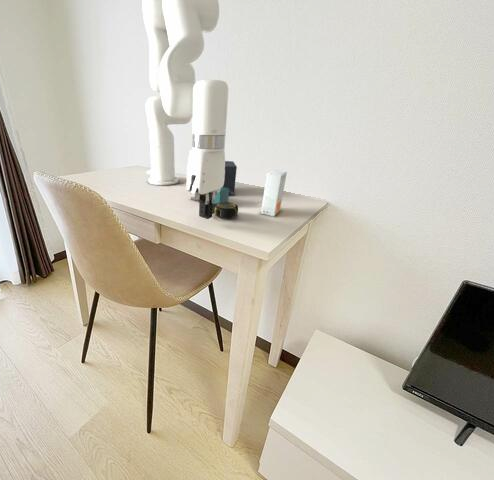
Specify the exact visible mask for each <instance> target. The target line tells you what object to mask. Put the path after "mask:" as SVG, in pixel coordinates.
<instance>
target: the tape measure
mask: <svg viewBox="0 0 494 480" xmlns="http://www.w3.org/2000/svg"><path fill="white" fill-rule="evenodd" d="M238 213H239V206H238V204H236V203H233V202H229V201H228V202H225V203H215V204H213V214H214V215H215V217H216V218H219V219H224V220H230V219H231V220H232V219H235V218H237V217H238ZM213 214H212V215H213Z"/></svg>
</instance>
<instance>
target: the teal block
mask: <svg viewBox="0 0 494 480" xmlns="http://www.w3.org/2000/svg"><path fill="white" fill-rule="evenodd" d="M229 196H230V195H229V188H225V187H222V188H221V190H220V191H219V192H218V193H217V194H216V196H215V201H214V202H213V204H215V203H225V202H229Z"/></svg>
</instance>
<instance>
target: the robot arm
mask: <svg viewBox="0 0 494 480" xmlns="http://www.w3.org/2000/svg"><path fill="white" fill-rule="evenodd" d="M142 16H143V17H142V18H143V22H144V26H145V30H146V34H147V37H148V45H149V84H150V87H151V89H152V90H153V91H154V92H156V93H160V95H154V96H153V95H152V96H150V97H149V98H148V99H146V101H145V114H146V117H147V118H146V119H147V125H148V132H149V146H150V147H149V149H150V150H149V151H150V169H149V170H147V171H146V174H147V175H150V177H148V179H147V181H148V183H149V184H151V185H156V186H171V185H175V184H178V183H179V178H178V177H177V176H175V175H176V174H175V136H174V134H173V132H172V131H171V129H170V128H169V126H168V125H186V124H187V125H188V124H189V123H190V122H191V121H192V144H191V145H192V148H191V149H190V150H189V155H188V161H187V169H186V191H188V192H190V199H191V198H192V199H195V200H198V201H197V203H198V204H199V205H198V207H199V208H198V216H199V217H200V218H203V219H206V220H209V219H212V218H213V202H214V201H215V196H216V194H217V193H218V192H219V191H220V190H221V188H222V187H223V185H224V179H225V161H226V152H225V149H226V148H225V147H226V132H227V121H228V120H227V118H228V117H227V116H228V104H229V103H228V102H229V86H228V83H227V82H226V81H224V80H221V79H202V80H197V81H196V72H195V69H194V66H193V65H192V63H194V62H196V61H197V60H198V59H199V58H200V57H201V55H202V54H203V52H204V50H205V39H204V34H208V33H209V34H210V33H211V32H213V31H214V30H215V29H216V27H217V26H218V22H219V18H220V4H219V0H142ZM191 191H192V193H191ZM195 200H194V201H195Z"/></svg>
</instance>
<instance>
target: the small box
mask: <svg viewBox="0 0 494 480" xmlns="http://www.w3.org/2000/svg"><path fill="white" fill-rule="evenodd" d="M237 168H238V167H237V165H236V163H235V162H234V161H233V160H232V161H230V160H225V179H224V185H223V187H225V188H229V196H234V195H235V187H236V179H237V170H238V169H237Z"/></svg>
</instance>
